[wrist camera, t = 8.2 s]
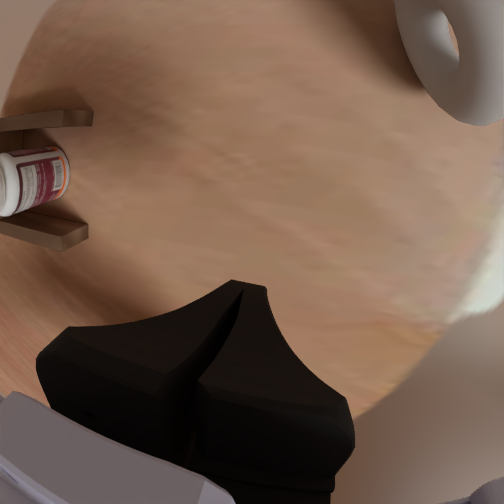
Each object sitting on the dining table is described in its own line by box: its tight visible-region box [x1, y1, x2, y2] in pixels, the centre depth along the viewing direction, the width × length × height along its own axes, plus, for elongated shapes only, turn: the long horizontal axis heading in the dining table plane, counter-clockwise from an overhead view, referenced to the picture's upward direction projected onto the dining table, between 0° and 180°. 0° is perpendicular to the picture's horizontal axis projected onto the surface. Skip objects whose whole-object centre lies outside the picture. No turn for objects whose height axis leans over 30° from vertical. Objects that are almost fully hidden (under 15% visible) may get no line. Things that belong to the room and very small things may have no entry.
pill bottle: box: [0, 146, 70, 216], centre depth 17 cm, size 5×5×8 cm
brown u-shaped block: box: [0, 109, 93, 252], centre depth 20 cm, size 10×10×4 cm
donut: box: [394, 0, 504, 126], centre depth 10 cm, size 10×4×10 cm, turn 20°
